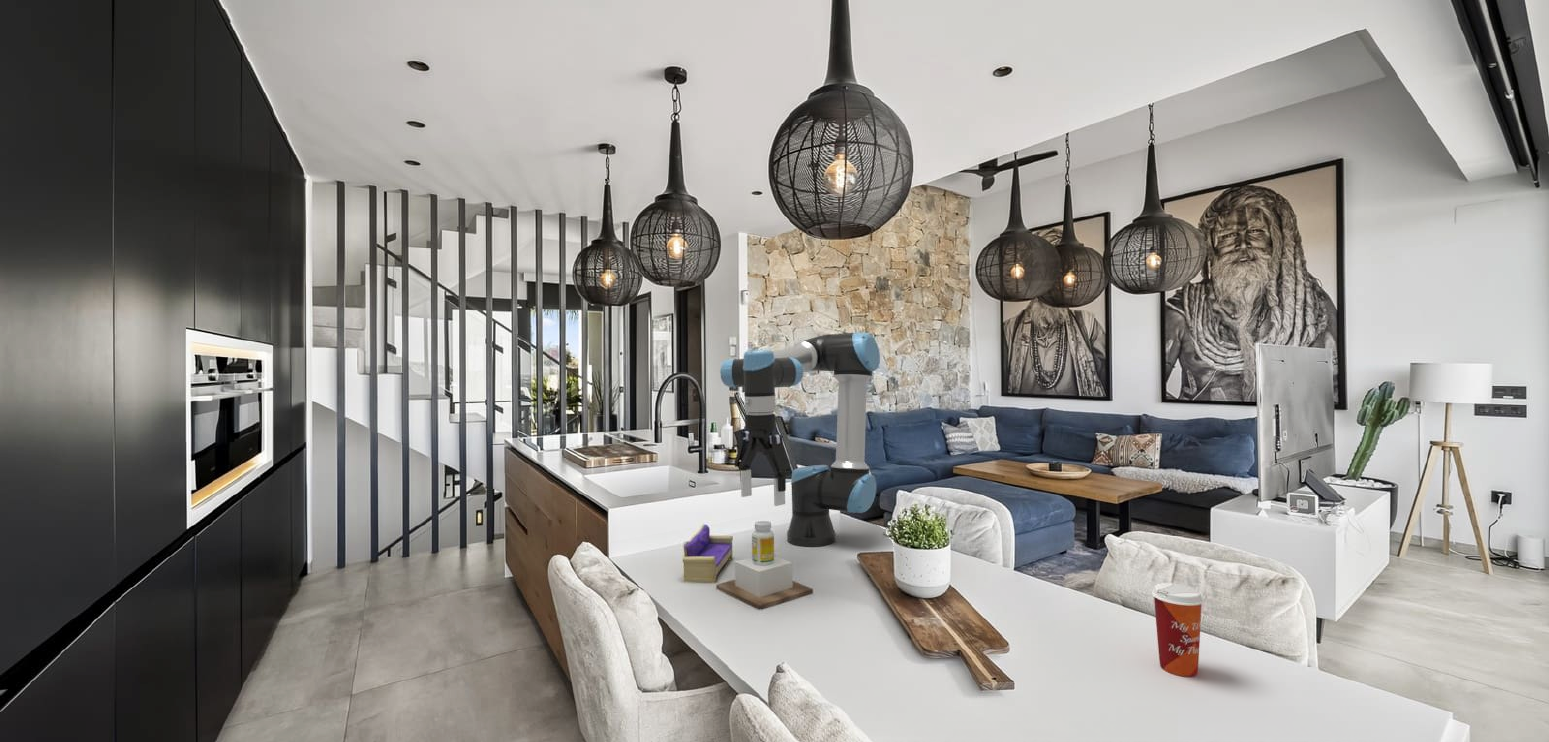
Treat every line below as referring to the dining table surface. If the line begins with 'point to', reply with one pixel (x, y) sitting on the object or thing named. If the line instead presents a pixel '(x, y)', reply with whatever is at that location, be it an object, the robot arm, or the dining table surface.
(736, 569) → the white plinth
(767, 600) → the walnut board
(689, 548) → the toy sofa
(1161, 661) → the paper cup
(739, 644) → the dining table surface
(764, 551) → the supplement bottle
